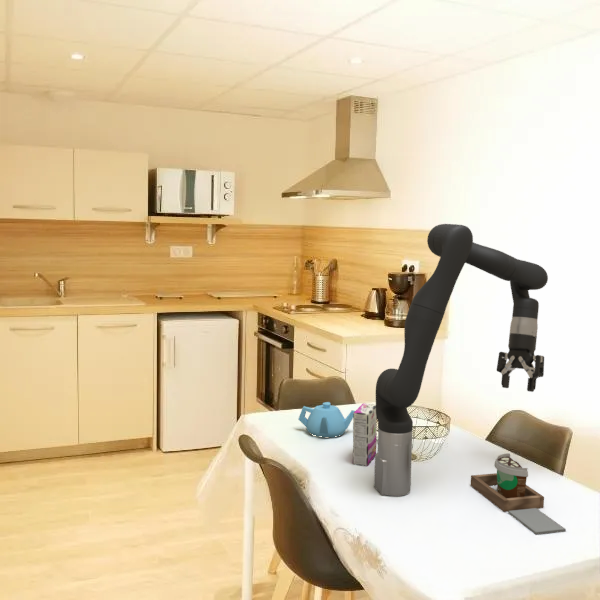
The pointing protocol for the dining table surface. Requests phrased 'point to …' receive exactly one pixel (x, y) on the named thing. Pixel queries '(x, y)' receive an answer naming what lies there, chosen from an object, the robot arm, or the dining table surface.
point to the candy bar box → (364, 434)
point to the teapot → (325, 420)
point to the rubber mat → (536, 521)
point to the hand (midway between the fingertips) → (517, 389)
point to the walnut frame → (505, 504)
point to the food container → (510, 477)
